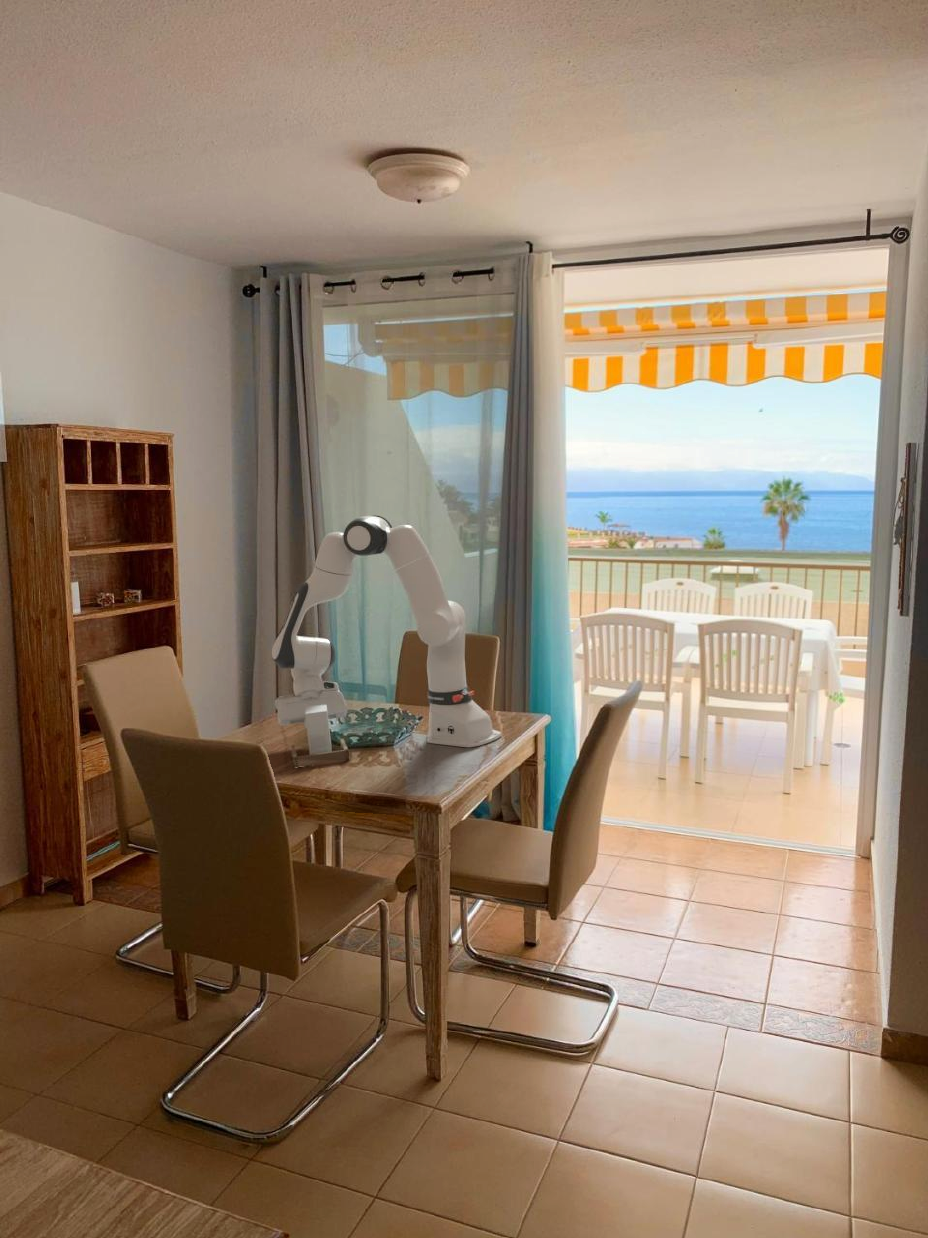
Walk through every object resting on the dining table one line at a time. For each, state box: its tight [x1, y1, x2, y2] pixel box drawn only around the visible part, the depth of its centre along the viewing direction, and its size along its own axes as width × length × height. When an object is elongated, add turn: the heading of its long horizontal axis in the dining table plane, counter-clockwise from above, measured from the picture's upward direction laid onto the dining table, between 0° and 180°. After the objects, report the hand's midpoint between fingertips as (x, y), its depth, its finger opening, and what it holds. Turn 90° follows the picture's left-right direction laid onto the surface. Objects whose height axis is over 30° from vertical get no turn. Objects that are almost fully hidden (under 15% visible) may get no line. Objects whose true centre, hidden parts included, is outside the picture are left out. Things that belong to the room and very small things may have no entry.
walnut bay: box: [290, 737, 350, 768], centre depth 270 cm, size 12×15×3 cm
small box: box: [305, 705, 333, 755], centre depth 274 cm, size 8×6×13 cm
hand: (315, 732), depth 279 cm, fingers closed
